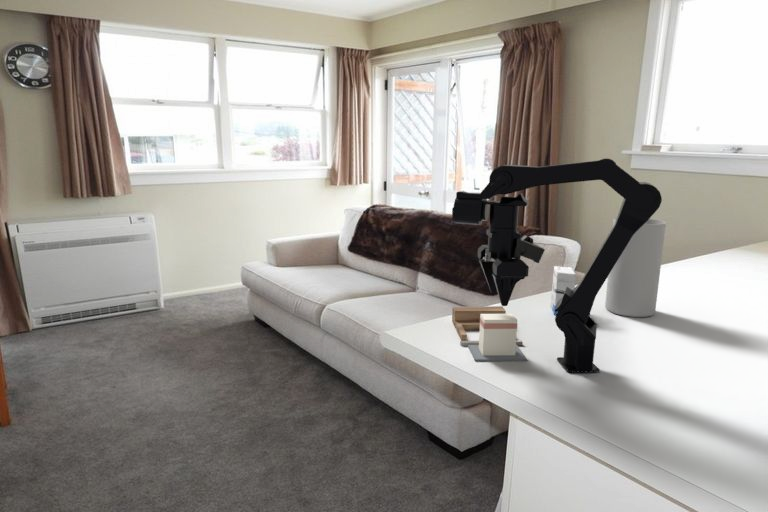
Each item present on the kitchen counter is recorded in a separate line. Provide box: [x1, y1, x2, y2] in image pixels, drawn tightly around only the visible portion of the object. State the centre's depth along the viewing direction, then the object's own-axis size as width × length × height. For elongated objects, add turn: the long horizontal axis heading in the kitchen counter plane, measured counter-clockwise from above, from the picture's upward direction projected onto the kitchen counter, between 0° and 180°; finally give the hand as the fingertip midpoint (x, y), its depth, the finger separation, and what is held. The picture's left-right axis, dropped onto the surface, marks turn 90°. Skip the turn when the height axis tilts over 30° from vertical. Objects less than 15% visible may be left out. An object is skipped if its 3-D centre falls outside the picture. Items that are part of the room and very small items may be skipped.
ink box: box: [550, 265, 577, 316], centre depth 139 cm, size 8×5×12 cm, turn 168°
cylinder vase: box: [604, 217, 667, 318], centre depth 138 cm, size 12×12×25 cm
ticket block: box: [478, 313, 518, 356], centre depth 110 cm, size 4×7×8 cm, turn 92°
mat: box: [467, 345, 528, 362], centre depth 111 cm, size 8×11×1 cm
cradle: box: [451, 305, 524, 347], centre depth 123 cm, size 16×14×4 cm
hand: (498, 299), depth 108 cm, fingers open, 9 cm apart
